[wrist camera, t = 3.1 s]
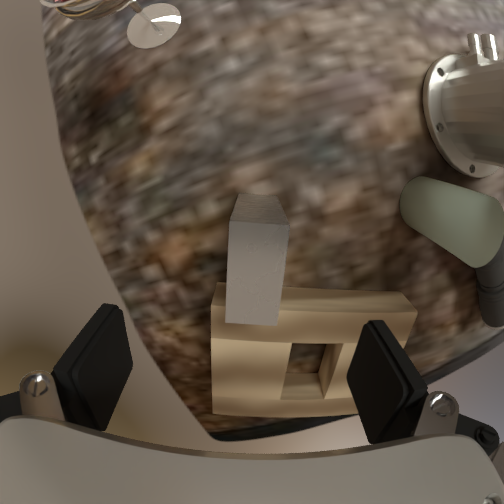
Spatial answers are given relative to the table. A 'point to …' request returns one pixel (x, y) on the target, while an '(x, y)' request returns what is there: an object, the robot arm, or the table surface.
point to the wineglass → (140, 27)
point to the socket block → (279, 345)
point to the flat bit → (256, 260)
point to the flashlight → (492, 290)
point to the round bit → (454, 218)
